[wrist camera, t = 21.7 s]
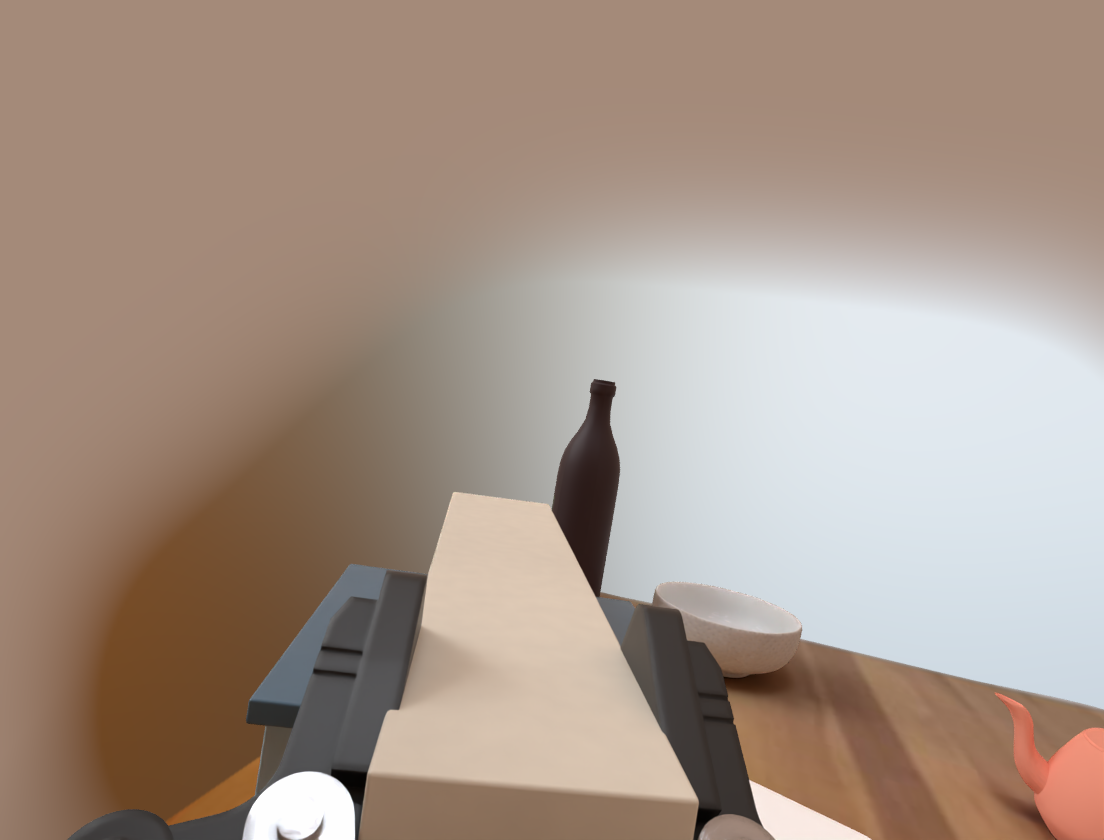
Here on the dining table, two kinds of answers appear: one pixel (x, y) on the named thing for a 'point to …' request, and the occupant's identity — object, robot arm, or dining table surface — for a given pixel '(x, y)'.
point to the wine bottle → (589, 486)
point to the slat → (519, 702)
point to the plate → (796, 819)
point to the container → (295, 667)
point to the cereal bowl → (733, 626)
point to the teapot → (1063, 778)
